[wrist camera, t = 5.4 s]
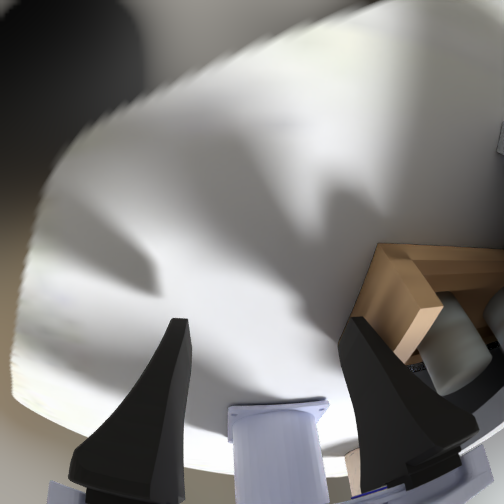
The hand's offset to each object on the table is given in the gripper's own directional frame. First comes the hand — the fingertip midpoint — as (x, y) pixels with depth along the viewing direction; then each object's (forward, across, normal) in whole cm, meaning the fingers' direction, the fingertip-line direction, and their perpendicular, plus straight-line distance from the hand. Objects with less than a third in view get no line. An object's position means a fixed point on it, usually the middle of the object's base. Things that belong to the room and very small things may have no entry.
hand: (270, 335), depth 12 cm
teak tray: (+2, -13, 0) cm, 13 cm away
